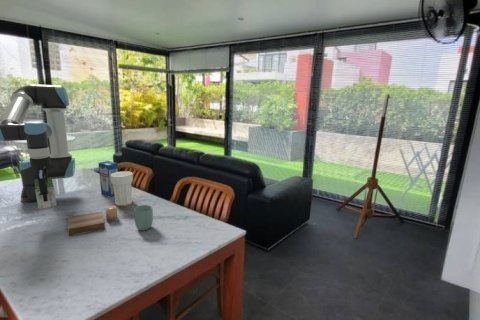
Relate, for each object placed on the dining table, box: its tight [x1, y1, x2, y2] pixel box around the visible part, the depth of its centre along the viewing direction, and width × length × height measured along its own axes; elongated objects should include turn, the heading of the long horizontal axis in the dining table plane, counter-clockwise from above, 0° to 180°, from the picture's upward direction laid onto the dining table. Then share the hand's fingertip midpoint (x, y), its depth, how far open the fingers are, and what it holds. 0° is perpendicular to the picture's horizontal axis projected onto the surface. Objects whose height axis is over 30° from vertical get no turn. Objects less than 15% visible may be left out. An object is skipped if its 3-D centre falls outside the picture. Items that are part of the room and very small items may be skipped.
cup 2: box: [133, 204, 154, 231], centre depth 124 cm, size 8×8×10 cm
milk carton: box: [97, 160, 119, 198], centre depth 164 cm, size 10×6×20 cm, turn 58°
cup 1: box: [110, 170, 134, 207], centre depth 151 cm, size 11×11×17 cm
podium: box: [67, 210, 106, 236], centre depth 126 cm, size 14×14×3 cm
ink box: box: [34, 177, 57, 210], centre depth 124 cm, size 7×4×13 cm, turn 125°
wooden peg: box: [105, 205, 119, 222], centre depth 133 cm, size 5×5×6 cm
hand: (47, 205), depth 126 cm, fingers closed on ink box, 4 cm apart
